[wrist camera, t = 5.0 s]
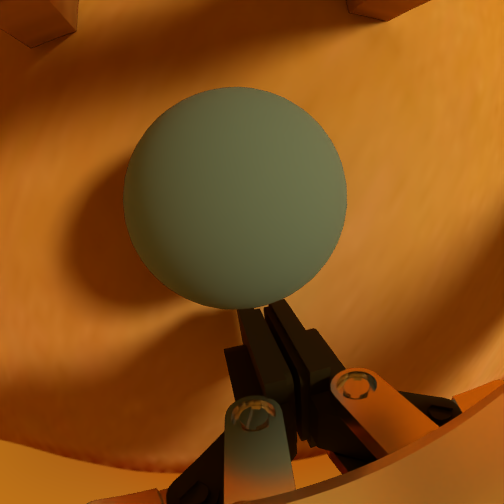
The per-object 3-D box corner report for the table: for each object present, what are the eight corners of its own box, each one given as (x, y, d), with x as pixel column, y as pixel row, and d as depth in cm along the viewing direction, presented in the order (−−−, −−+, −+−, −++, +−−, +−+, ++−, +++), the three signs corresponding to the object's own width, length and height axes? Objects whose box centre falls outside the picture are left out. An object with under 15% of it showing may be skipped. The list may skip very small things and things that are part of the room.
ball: (358, 302, 9) (294, 176, 12) (428, 164, 4) (294, 42, 7) (180, 359, 8) (156, 215, 11) (66, 266, 4) (97, 91, 6)
